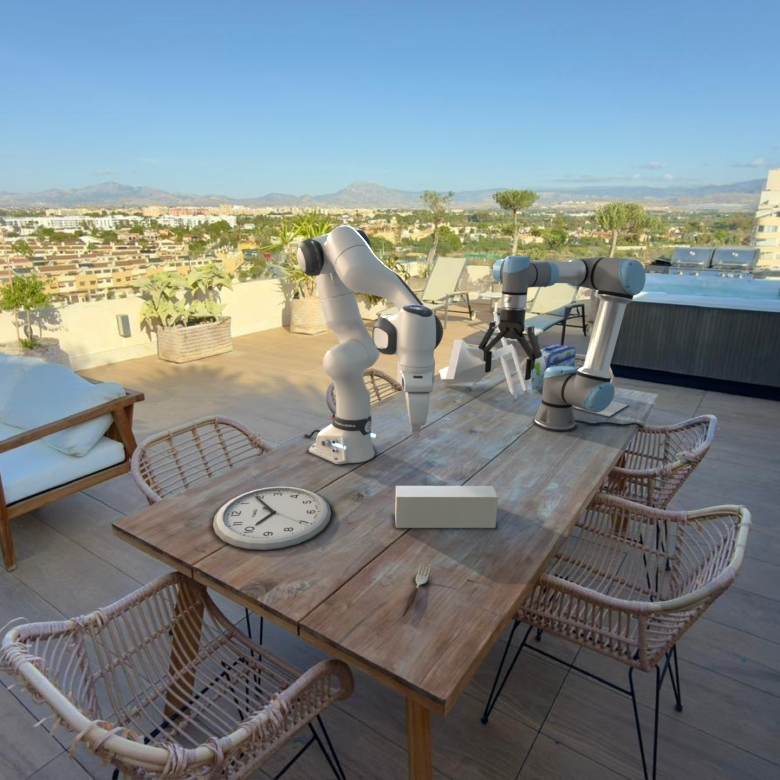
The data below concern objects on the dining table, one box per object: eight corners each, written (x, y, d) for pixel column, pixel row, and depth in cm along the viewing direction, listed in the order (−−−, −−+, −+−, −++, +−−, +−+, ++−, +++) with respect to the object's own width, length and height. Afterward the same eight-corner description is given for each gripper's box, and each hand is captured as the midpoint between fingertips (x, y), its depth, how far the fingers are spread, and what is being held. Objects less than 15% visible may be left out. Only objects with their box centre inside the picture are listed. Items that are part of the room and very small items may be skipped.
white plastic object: (461, 429, 252) (437, 405, 227) (444, 352, 274) (420, 323, 250) (535, 404, 240) (518, 377, 215) (510, 326, 262) (492, 293, 237)
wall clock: (329, 541, 123) (198, 546, 121) (329, 547, 124) (199, 552, 121) (332, 482, 152) (226, 484, 149) (332, 487, 152) (226, 489, 150)
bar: (490, 515, 139) (493, 485, 136) (495, 528, 133) (498, 497, 131) (395, 515, 138) (395, 485, 136) (395, 528, 133) (396, 496, 130)
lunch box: (547, 397, 237) (552, 352, 231) (526, 391, 245) (531, 348, 238) (574, 386, 255) (580, 344, 249) (554, 381, 262) (559, 340, 256)
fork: (396, 617, 102) (396, 608, 101) (420, 569, 116) (420, 561, 116) (409, 620, 101) (409, 612, 101) (431, 572, 116) (431, 564, 115)
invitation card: (608, 416, 214) (573, 407, 224) (608, 416, 214) (573, 408, 224) (628, 404, 229) (594, 396, 238) (628, 405, 229) (594, 397, 238)
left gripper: (400, 363, 133) (399, 414, 138) (404, 387, 114) (403, 445, 118) (425, 363, 134) (423, 414, 138) (433, 387, 114) (431, 445, 118)
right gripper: (470, 305, 163) (466, 371, 169) (548, 314, 149) (540, 385, 155) (481, 302, 169) (477, 366, 175) (557, 311, 155) (550, 379, 161)
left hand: (414, 429), depth 128 cm, fingers open, 8 cm apart
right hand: (507, 375), depth 165 cm, fingers open, 13 cm apart
